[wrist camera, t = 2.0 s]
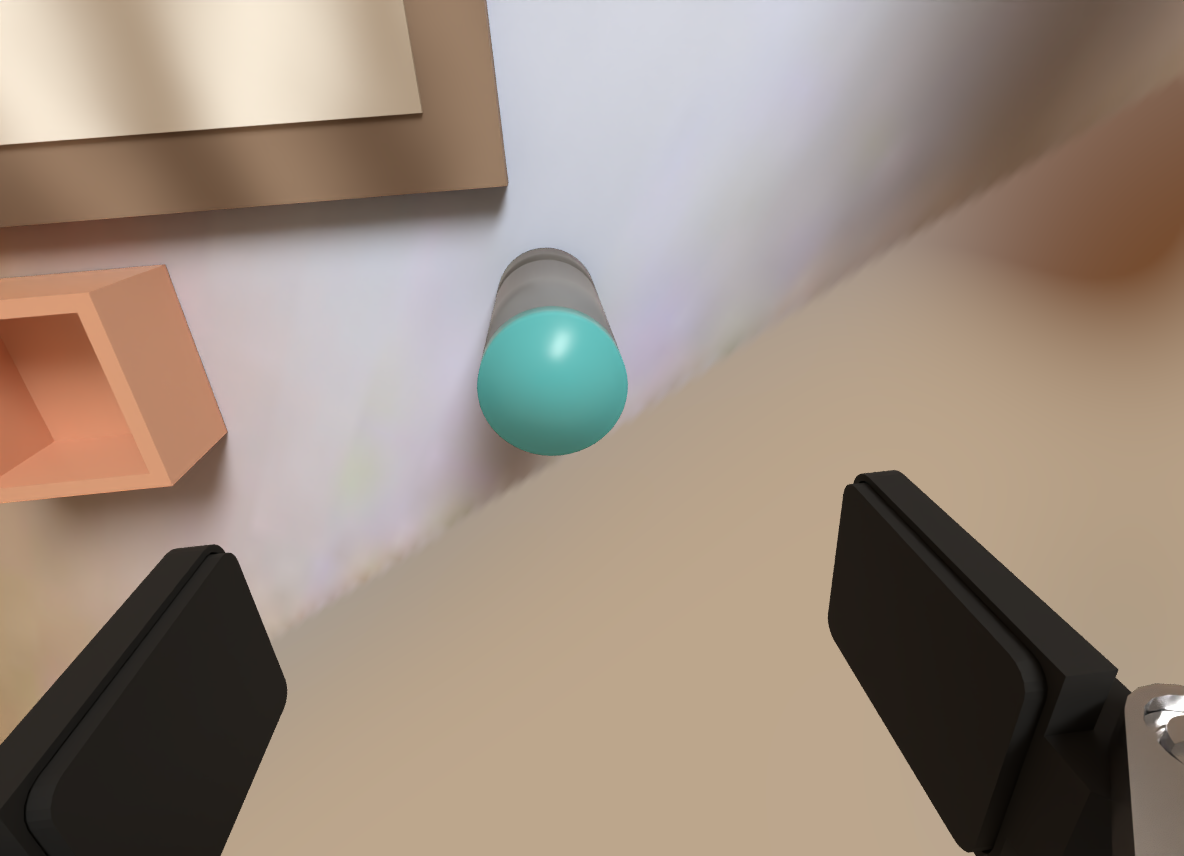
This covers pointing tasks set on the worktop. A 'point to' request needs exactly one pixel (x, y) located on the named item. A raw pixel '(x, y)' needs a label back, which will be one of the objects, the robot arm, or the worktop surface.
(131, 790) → the robot arm
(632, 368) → the worktop surface
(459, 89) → the writing board
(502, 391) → the marker
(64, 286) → the orange square open box
